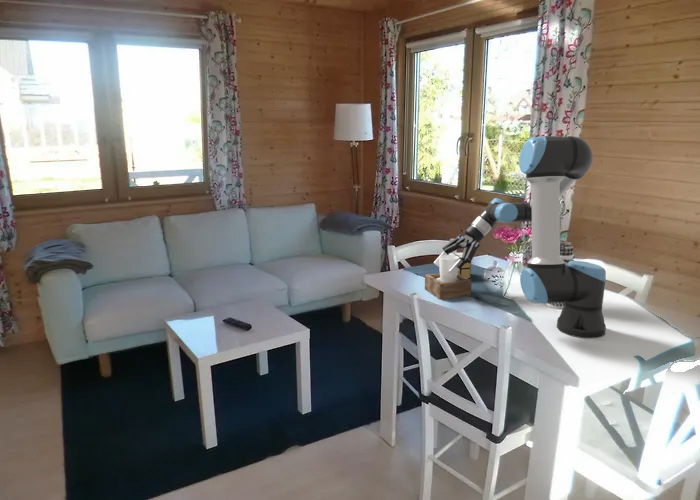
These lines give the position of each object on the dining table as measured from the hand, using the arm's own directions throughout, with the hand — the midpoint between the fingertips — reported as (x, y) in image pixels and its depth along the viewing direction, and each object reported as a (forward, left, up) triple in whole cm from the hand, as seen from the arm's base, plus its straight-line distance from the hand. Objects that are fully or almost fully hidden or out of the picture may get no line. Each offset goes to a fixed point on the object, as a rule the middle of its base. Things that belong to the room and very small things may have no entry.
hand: (443, 269), depth 212 cm
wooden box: (0, -2, -10) cm, 11 cm away
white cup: (0, -2, -5) cm, 6 cm away
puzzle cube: (+20, -17, -11) cm, 29 cm away
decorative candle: (-27, -35, -11) cm, 46 cm away
